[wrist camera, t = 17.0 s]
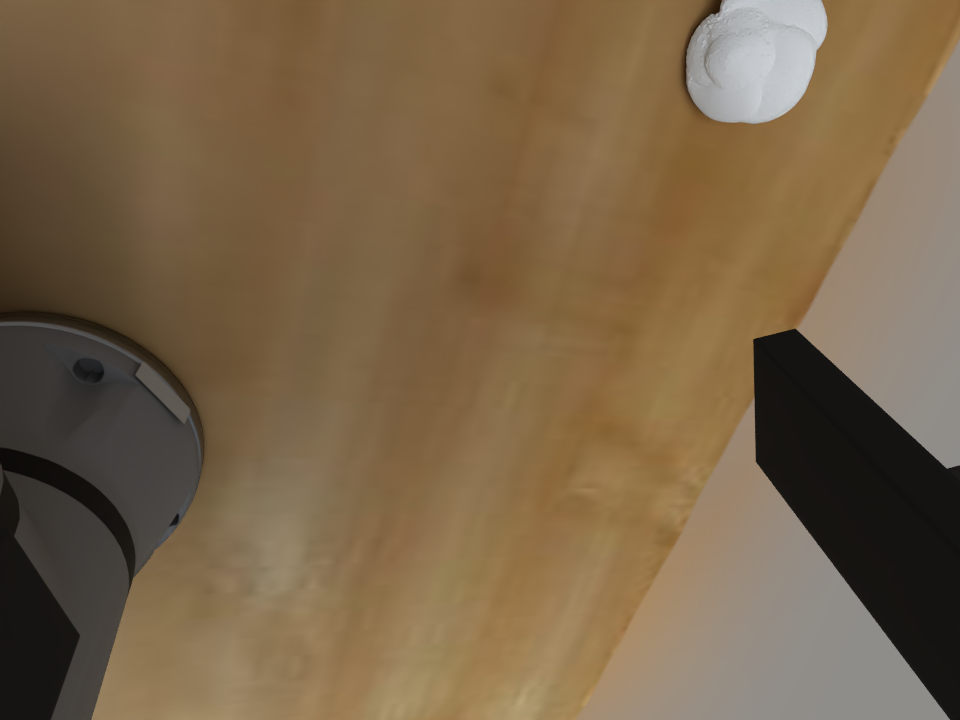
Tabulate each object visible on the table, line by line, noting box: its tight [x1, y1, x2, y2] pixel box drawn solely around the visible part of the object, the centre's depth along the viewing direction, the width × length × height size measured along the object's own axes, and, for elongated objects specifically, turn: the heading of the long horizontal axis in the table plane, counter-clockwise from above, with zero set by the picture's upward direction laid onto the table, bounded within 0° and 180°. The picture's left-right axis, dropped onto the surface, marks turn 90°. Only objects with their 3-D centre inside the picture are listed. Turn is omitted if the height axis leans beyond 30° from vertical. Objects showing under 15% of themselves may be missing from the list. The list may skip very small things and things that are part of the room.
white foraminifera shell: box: [686, 0, 827, 124], centre depth 36 cm, size 7×5×4 cm
